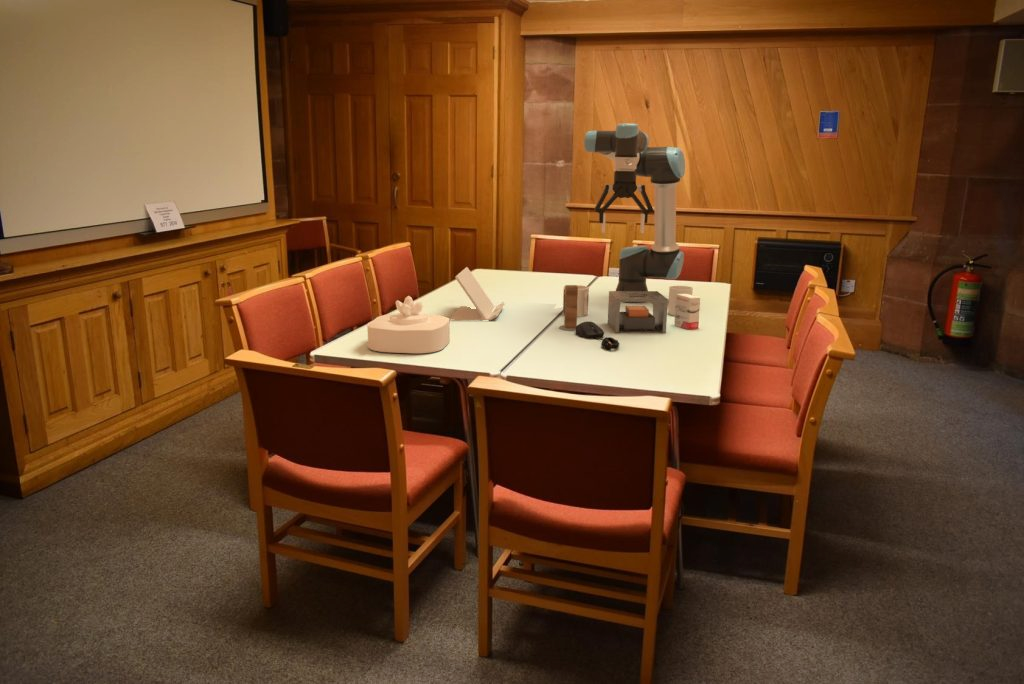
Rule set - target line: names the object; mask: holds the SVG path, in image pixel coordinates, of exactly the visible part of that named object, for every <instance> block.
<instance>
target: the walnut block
mask: <svg viewBox="0 0 1024 684" xmlns="http://www.w3.org/2000/svg"><path fill="white" fill-rule="evenodd" d="M577 285H578V284H569V285H568V284H567V285H564V286H565V315H563V316H564V317H563V318H564V319H563V320H564V321H563V322H564V323H563V325H564V327H565V328H576V327H577V326H578V325H577V324H578V317H577V299H578V287H577Z"/></svg>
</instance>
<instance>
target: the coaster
mask: <svg viewBox="0 0 1024 684" xmlns="http://www.w3.org/2000/svg"><path fill="white" fill-rule="evenodd" d="M558 328H559V330H562V331H571V332H572V331H573V332H574V331H575V332H576V328H565V327H564V324H562V325H559V326H558Z"/></svg>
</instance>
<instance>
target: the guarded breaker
mask: <svg viewBox="0 0 1024 684" xmlns="http://www.w3.org/2000/svg"><path fill="white" fill-rule="evenodd" d="M630 296H646V297H630ZM623 302H645V303H653V305H652V313H651V312H649V315H648V317H628V316H627V315H626V314H625V311H621V303H623ZM607 304H608V305H607V309H608V310H607V325H609V327H610V328H611V330H612V331H613V332H614V334H620V329H621V330H622V331H623V332H629V333H631V332H655V331H656V330H655V328H656V329H658V330H659V332H660V333H662V334H666V333H667V321H668V320H667V319H668V304H669V298H667V297H666V296H665V295H663V294H661V293H660V292H659V291H657V290H655V291H654V290H653V291H652V290H648V291H616V290H609V291H608V303H607Z"/></svg>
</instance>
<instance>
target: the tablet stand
mask: <svg viewBox="0 0 1024 684" xmlns="http://www.w3.org/2000/svg"><path fill="white" fill-rule="evenodd" d="M454 279H456V281H457V283H458V284H459V285H460V287H461V288H462V290H463V292H464V293H465V295H466V296H467V297H468V299H469V300H470V301H471V303H472V304H473V306H475V307H476V309H471V308H470V307H467V306H468V305H460V306H459V308H458V309H457V310H456V311H455V312H454V313H453V314H452V315H451V317H450V318H449V319H455V320H454V321H462V320H490V321H492V320H494V319H495V318H497V317H498V316H499V314H500V313H501V312H502V310H503V308H504V307H505V303H504V302H501V303H500V304H498V305H496V306H495V305H494V304H493V302H492V301H491V299H490V298H489V296H488V294H486V292H485V291H484V289H483V288H482V286H481V285H480V283H479V282H478V281H477V279H476V277H475V276H474V274H473V273H472V272H471V270H470V269H469V267H468V266H466V267H464V269H462V270H461V271H460V272H459V273H458V274H456V275H455V277H454ZM494 307H496V308H495V309H494ZM493 309H494V311H493ZM492 311H493V312H492Z"/></svg>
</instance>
